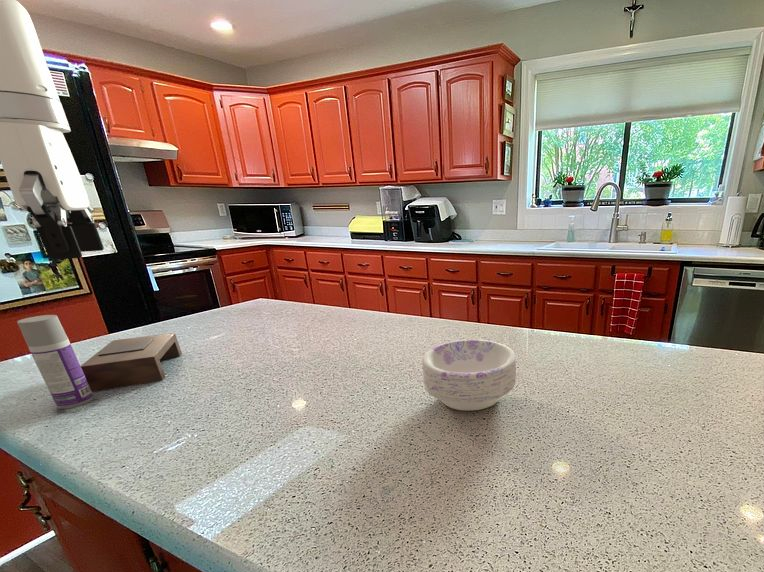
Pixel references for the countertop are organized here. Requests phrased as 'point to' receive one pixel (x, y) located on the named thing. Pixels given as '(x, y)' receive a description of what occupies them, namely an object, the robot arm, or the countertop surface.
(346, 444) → the countertop surface
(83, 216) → the robot arm
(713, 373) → the countertop surface
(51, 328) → the container
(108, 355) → the shelf
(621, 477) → the countertop surface
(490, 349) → the paper bowls
